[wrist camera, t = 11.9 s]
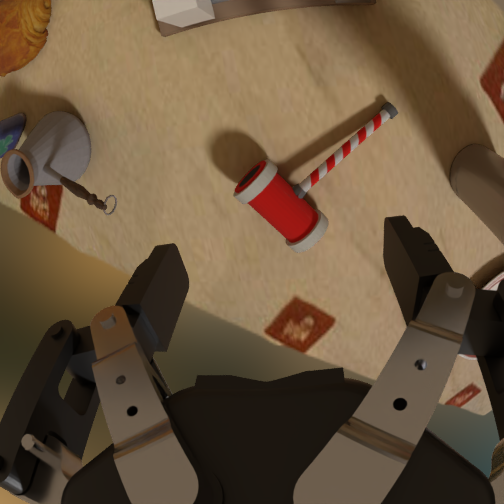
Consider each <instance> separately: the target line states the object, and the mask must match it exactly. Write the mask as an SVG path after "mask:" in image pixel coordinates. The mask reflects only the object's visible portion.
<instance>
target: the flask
mask: <svg viewBox="0 0 504 504" xmlns="http://www.w3.org/2000/svg"><path fill="white" fill-rule="evenodd" d="M25 124H26V116H24V114H23V113H19V114H16V115H14V116H12V117H9V118H7V119H5V120H2V121H0V158H2V157H3V156H4V155H5V153H6V152H7V151H9V150H11V149H15V147H16V145H17V144H18V142H19V139H20V137H21V135H22V132H23V130H24V127H25Z"/></svg>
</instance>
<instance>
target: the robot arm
mask: <svg viewBox="0 0 504 504" xmlns="http://www.w3.org/2000/svg"><path fill="white" fill-rule="evenodd" d="M450 181H451V186H452V188H453V191H454V192H455V194H456V195H457V196H458V197H459V198H460V199H461V200H462V201H463V202H464V203H465V204H466V205H467V206H468V207H469V208H470V209H471V210H472V211H473V212H474V213H475V214H476V215H477V216H478V217H479V218H480V219H481V221H482V222H483V223H484V224H485V225H486V226H487V227H488V228H489V229H490V230H491V231H492V232H493V234H494V235H495V236H496V237H497V238H498V239H499V240H500V241H501V243H502V244H503V245H504V158H503V157H501V156H500V155H498V154H496V153H495V152H493V151H491V150H489V149H488V148H486V147H484V146H482V145H470V146H467V147H466V148H464V149H463V150H462V151H460V152H459V154H458V155H457V156H456V158H455V160H454V162H453V164H452V167H451V173H450ZM383 257H384V265H385V269H386V271H387V274H388V277H389V279H390V282H391V284H392V287H393V289H394V292H395V295H396V297H397V300H398V303H399V306H400V308H401V311H402V314H403V317H404V320H405V322H406V325H407V328H406V330H405V332H404V334H403V335H402V337H401V339H400V341H399V343H398V344H397V346H396V348H395V350H394V351H393V353H392V355H391V357H390V358H389V360H388V362H387V363H386V365H385V367H384V368H383V370H382V372H381V373H380V375H379V376H378V378H377V380H376V381H375V383H374V385H373V386H372V385H370V384H368V383H365V382H362V381H359V380H354V379H349V378H344V372H343V367H342V368H334V369H324V370H316V371H315V370H314V371H305V372H302V373H299V374H295V375H292V376H288V377H285V378H281V379H277V380H274V381H269V382H263V381H257V380H252V379H247V378H242V377H237V376H232V375H207V376H205V375H198V376H197V379H196V383H195V386H192V387H189V388H186V389H183V390H181V391H178V392H176V393H174V394H173V395H172V393H171V391H170V389H169V387H168V385H167V383H166V381H165V379H164V378H163V375H162V373H161V371H160V369H159V367H158V366H157V363H156V361H155V360H154V358H153V354H154V352H155V351H162V352H163V351H165V352H166V351H167V349H168V346H169V342H170V340H171V337H172V334H173V331H174V328H175V326H176V323H177V320H178V317H179V314H180V312H181V309H182V306H183V303H184V300H185V298H186V295H187V292H188V289H189V278H188V274H187V272H186V269H185V266H184V264H183V261H182V258H181V256H180V253H179V250H178V248H177V246H176V245H175V244H174V243H172V244H165V245H158V246H155V248H154V249H153V251H152V253H151V254H150V256H149V258H148V259H146V260H145V261H144V262H142V263H141V264H140V265H139V266H138V267H137V268H136V270H135V272H134V273H133V275H132V277H131V279H130V280H129V282H128V285H126V287H125V289H124V291H123V292H122V294H121V296H120V298H119V299H118V301H117V303H116V305H115V306H110V307H107V308H105V309H103V310H101V311H100V312H98V313H97V314H96V315H95V316H94V318H93V319H92V321H91V324H90V326H87V327H84V328H80V329H77V330H76V328H75V327H74V325H73V324H72V322H71V321H69V320H62V321H59V322H57V323H55V324H54V325H53V326H51V327H50V328H49V329H48V331H47V332H46V333H45V335H44V337H43V339H42V340H41V342H40V344H39V346H38V348H37V349H36V351H35V353H34V355H33V357H32V358H31V360H30V362H29V364H28V366H27V368H26V370H25V372H24V373H23V376H22V377H21V380H20V381H19V383H18V385H17V388H16V390H15V392H14V394H13V396H12V398H11V400H10V402H9V405H8V406H7V409H6V411H5V413H4V415H3V418H2V420H1V422H0V487H2V488H4V489H5V490H7V491H9V492H10V493H11V494H12V495H14V496H16V497H18V498H20V499H22V500H24V501H26V502H28V503H30V504H504V279H503V280H501V281H500V283H499V285H498V288H497V291H496V290H484V289H476V288H475V285H474V284H473V282H472V281H471V280H470V279H469V278H468V277H466V276H465V275H463V274H460V273H456V272H454V271H453V270H452V268H451V266H450V265H449V263H448V262H447V260H446V259H445V257H444V255H443V254H442V252H441V251H439V248H438V246H437V245H436V244H435V242H434V240H433V239H432V237H431V236H430V235H429V233H427V232H426V231H424V230H423V229H421V228H420V227H415V228H413V227H412V225H411V224H410V222H409V221H408V219H407V218H406V216H404V215H403V216H394V217H386V218H385V221H384V249H383ZM457 354H463V355H476V358H477V361H478V363H479V366H480V369H481V372H482V376H483V379H484V382H485V385H486V388H487V392H488V395H489V399H490V402H491V406H492V410H493V413H494V417H495V421H496V425H497V430H498V434H499V438H500V442H499V443H498V444H497V445H496V447H495V449H494V451H493V454H492V459H491V473H490V476H489V478H487V477H486V475H485V474H484V473H483V472H481V471H480V470H479V469H478V468H477V467H475V466H474V465H472V464H471V463H470V462H469V461H468V460H466V459H465V458H464V457H463V456H461V455H460V454H459V453H458V452H456V451H455V450H454V449H452V448H451V447H450V446H449V445H448V444H446V443H445V442H444V441H443V440H442V439H440V438H439V437H438V436H437V435H435V434H434V433H433V432H432V431H430V430H429V429H428V428H427V427H426V426H427V424H428V422H429V420H430V418H431V416H432V414H433V412H434V410H435V407H436V405H437V403H438V401H439V399H440V397H441V394H442V392H443V390H444V387H445V385H446V383H447V380H448V378H449V375H450V373H451V370H452V367H453V365H454V362H455V360H456V357H457ZM65 369H66V370H67V371H68V372H69V374H70V375H71V376H72V377H73V379H72V381H71V383H70V386H69V388H68V391H67V393H66V395H65V398H64V400H63V399H62V398H61V397H60V395H59V392H58V385H59V382H60V380H61V378H62V376H63V374H64V371H65ZM100 401H101V404H102V408H103V411H104V415H105V418H106V421H107V425H108V427H109V431H110V434H111V437H112V440H113V444H111V445H110V446H109V447H108V448H106V449H105V450H104V451H103V452H101V453H100V454H99V455H98V456H96V457H95V458H94V459H93V460H91V461H90V462H89V463H88V464H86V465H85V466H84V467H83V464H82V456H83V453H84V450H85V446H86V443H87V440H88V437H89V433H90V430H91V427H92V424H93V421H94V418H95V415H96V412H97V409H98V406H99V403H100Z"/></svg>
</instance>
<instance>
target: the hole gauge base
mask: <svg viewBox="0 0 504 504" xmlns="http://www.w3.org/2000/svg"><path fill="white" fill-rule="evenodd" d="M211 3H212V8H213V12H214V16H215V19H211V20H207V21H203V22H199V23H196V24H192V25H188V26H185V27H179V26H175V25H172V24H169V23H165V22H162V21H158V24H159V28H160V32H161V36H164V37H166V36H169V35H172V34H176V33H179V32H182V31H186V30H189V29H192V28H196V27H200V26H203V25H207V24H211V23H215V22H219V21H224V20H228V19H233V18H237V17H242V16H247V15H253V14H259V13H265V12H271V11H278V10H285V9H294V8H303V7H314V6H329V5H373V4H375V3H376V0H211Z"/></svg>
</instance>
